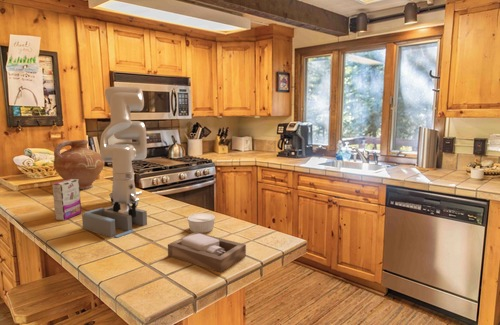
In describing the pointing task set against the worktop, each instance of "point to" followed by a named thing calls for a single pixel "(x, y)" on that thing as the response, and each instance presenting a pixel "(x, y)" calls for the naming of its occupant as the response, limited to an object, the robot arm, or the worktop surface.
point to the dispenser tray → (209, 254)
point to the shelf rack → (112, 221)
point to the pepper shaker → (123, 209)
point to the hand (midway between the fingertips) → (124, 215)
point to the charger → (203, 244)
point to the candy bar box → (66, 199)
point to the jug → (78, 163)
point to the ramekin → (201, 222)
